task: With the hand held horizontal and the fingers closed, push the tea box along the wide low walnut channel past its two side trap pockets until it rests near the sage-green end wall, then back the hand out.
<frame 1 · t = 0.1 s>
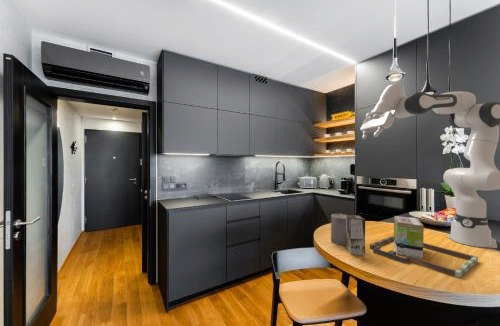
hand: (369, 137, 110), 54 cm above the breakfast bar, tool tilted 30°, fingers open, 8 cm apart
tea box: (407, 251, 103), resting in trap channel
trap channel: (420, 254, 99), on the breakfast bar
pillar candle: (340, 242, 115), on the breakfast bar
coffee box: (355, 251, 103), on the breakfast bar
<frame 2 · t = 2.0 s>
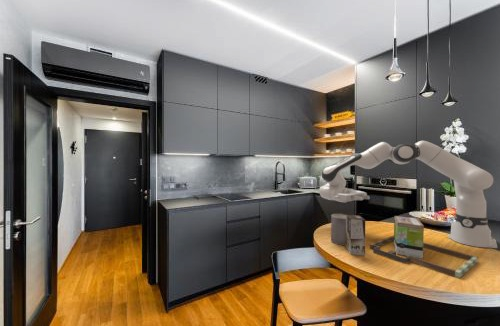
hand: (365, 198, 120), 22 cm above the breakfast bar, tool horizontal, fingers open, 5 cm apart
nothing on the breakfast bar moved.
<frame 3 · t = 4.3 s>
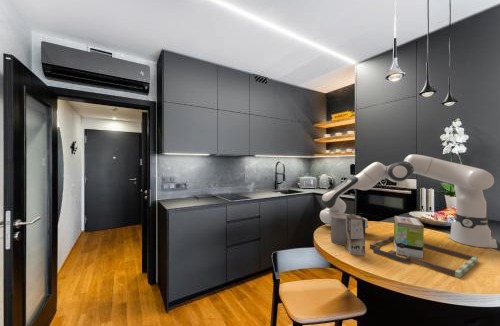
hand: (366, 226, 120), 6 cm above the breakfast bar, tool horizontal, fingers closed
nothing on the breakfast bar moved.
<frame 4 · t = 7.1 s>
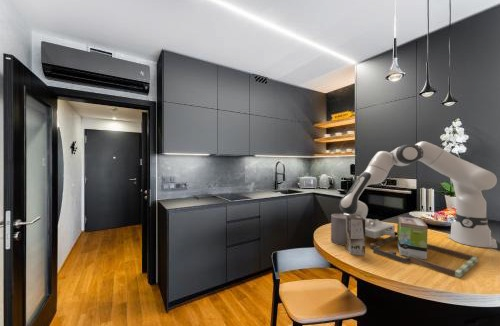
hand: (395, 234, 108), 6 cm above the breakfast bar, tool horizontal, fingers closed
tea box: (410, 252, 102), resting in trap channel, touching gripper
everything else where it was.
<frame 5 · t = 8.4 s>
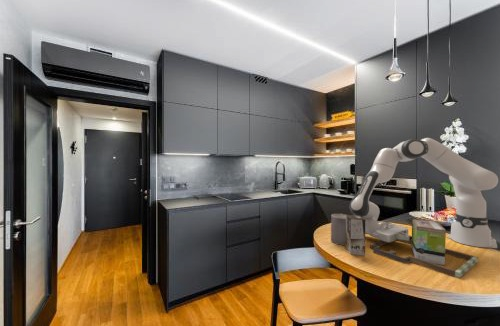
hand: (410, 238, 102), 6 cm above the breakfast bar, tool horizontal, fingers closed
tea box: (426, 256, 98), resting in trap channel, touching gripper
everything else where it was.
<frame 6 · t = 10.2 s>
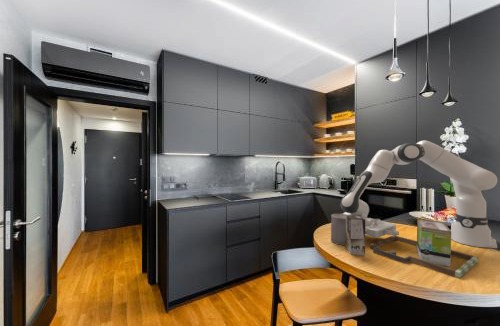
hand: (397, 233, 107), 7 cm above the breakfast bar, tool horizontal, fingers closed
tea box: (432, 258, 96), resting in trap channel
everything else where it was.
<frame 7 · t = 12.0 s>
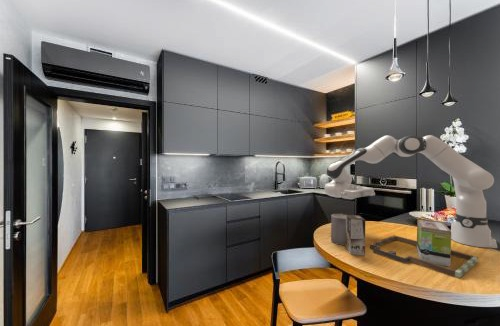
hand: (373, 194, 117), 25 cm above the breakfast bar, tool horizontal, fingers closed
nothing on the breakfast bar moved.
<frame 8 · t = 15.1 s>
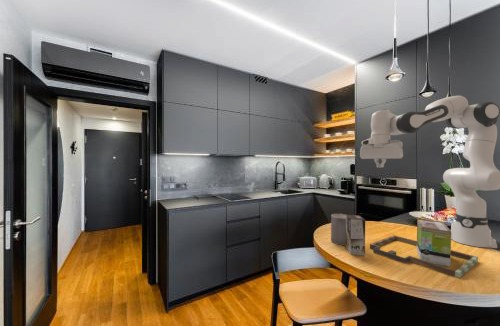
hand: (380, 167, 114), 39 cm above the breakfast bar, tool pointing down, fingers closed
nothing on the breakfast bar moved.
at the end: tea box inside the target area (1.7 cm from its centre), resting in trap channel; tea box tilted 0°; tea box moved 9.3 cm from its start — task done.
